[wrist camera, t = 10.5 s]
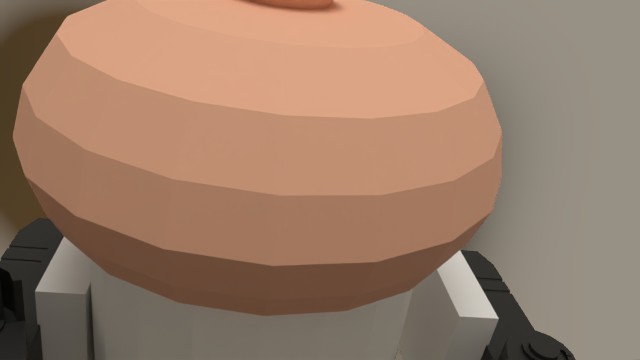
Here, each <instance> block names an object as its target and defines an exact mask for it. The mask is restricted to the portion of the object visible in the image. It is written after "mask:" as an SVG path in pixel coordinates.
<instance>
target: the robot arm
mask: <svg viewBox="0 0 640 360" xmlns="http://www.w3.org/2000/svg"><path fill="white" fill-rule="evenodd" d="M398 347H399V349H400V353H401V356H402V359H403V360H575V358H574V356H573V354H572V353H571V352H570V351H569V350H568V349H567V348H566V347H565V346H564V345H563V344H562V343H560V342H558V341H557V340H556V339H554V338H552V337H551V336H548V335H546V334H543V333H541V332H538V331H535V330H534V328H533V327H532V325H531V324H530V322H529V320H528V319H527V317H526V316H525V314H524V313H523V311H522V310H521V308H520V306H519V305H518V303H517V302H516V300H515V298H514V297H513V295H512V294H510V290H509V289H508V287H507V286H506V284H505V283H504V282H502V278H501V276H500V275H499V273H498V271H497V270H496V268H495V267H494V265H493V264H492V263H491V262H489V261H488V260H487V259H486V258H485V257H483V256H482V255H481V254H480V253H478V252H477V251H476V252H475V251H464V250H459V251H458V252H457V253H456V254H455V255H453V256H452V257H451V258H450V259H449V260H448V261H447V262H445V263H444V264H443V265H442V266H440V267H439V268H438V269H436V270H435V271H434V272H433V273H431V274H430V275H429V276H428V277H426V278H425V279H424V280H423V281H421V282H420V283H419V284H417V285H416V286H415V287H414V288H413V291H412V295H411V299H410V303H409V307H408V311H407V314H406V318H405V322H404V326H403V330H402V334H401V338H400V342H399V346H398ZM0 360H95V355H94V337H93V318H92V300H91V282H90V264H89V257H88V256H86V255H85V254H84V253H83V252H82V251H81V250H79V249H78V248H77V247H76V246H75V245H73V244H72V243H71V242H70V241H69V240H68V239H66V238H65V237H64V235H63V234H62V233H61V232H60V231H59V230H58V228H57V227H56V226H55V225H54V224H53V222H52V221H51V220H50V219H43V218H38V219H37V220H35V221H34V222H32V223H30V224H29V225H27V226H26V227H24V228H23V229H21V230H20V231H19V232H18V234H17V235H16V237H15V238H14V240H13V241H12V243H11V244H10V246H9V249H7V250H6V251H5V253H4V254H3V256H2V257H1V261H0Z"/></svg>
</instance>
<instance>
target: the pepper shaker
mask: <svg viewBox="0 0 640 360" xmlns="http://www.w3.org/2000/svg"><path fill="white" fill-rule="evenodd" d="M13 140H14V143H15V146H16V149H17V152H18V156H19V159H20V162H21V165H22V168H23V171H24V174H25V177H26V178H27V180H28V182H29V184H30V186H31V188H32V190H33V191H34V193H35V195H36V197H37V199H38V201H39V203H40V204H41V206H42V208H43V210H44V212H45V213H46V215H47V216H48V218H49V219H50V220H51V221H52V222H53V224H54V225H55V226H56V227H57V228H58V230H59V231H60V232H61V233H62V234H63V235H64V237H65V238H66V239H68V240H69V241H70V242H71V243H72V244H73V245H75V246H76V247H77V248H78V249H79V250H81V251H82V252H83V253H84V254H85V255H86V256H88V257H89V264H90V282H91V300H92V318H93V337H94V355H95V360H395V358H396V354H397V350H398V346H399V342H400V338H401V334H402V330H403V326H404V322H405V318H406V314H407V311H408V307H409V303H410V299H411V295H412V291H413V288H414V287H415V286H416V285H417V284H419V283H420V282H421V281H423V280H424V279H425V278H426V277H428V276H429V275H430V274H431V273H433V272H434V271H435V270H436V269H438V268H439V267H440V266H442V265H443V264H444V263H445V262H447V261H448V260H449V259H450V258H451V257H452V256H453V255H455V254H456V253H457V252H458V251H459V250H460V249H461V248H463V247H464V246H465V245H466V244H467V243H468V242H469V240H470V239H471V238H472V237H473V235H474V234H475V233H476V231H477V230H478V229H479V228H480V226H481V225H482V224H483V222H484V221H485V220H486V219H487V217H488V216H489V215H490V213H491V212H492V210H493V207H494V203H495V199H496V196H497V192H498V189H499V185H500V181H501V163H502V130H501V127H500V124H499V122H498V119H497V116H496V113H495V110H494V108H493V105H492V102H491V99H490V96H489V94H488V91H487V88H486V85H485V83H484V80H483V79H482V77H481V75H480V74H479V72H478V70H477V69H476V67H475V66H474V64H473V62H471V61H470V60H468V59H467V58H466V57H464V56H463V55H462V54H460V53H459V52H458V51H456V50H455V49H454V48H452V47H451V46H450V45H448V44H447V43H445V42H444V41H443V40H441V39H440V38H439V37H437V36H436V35H435V34H433V33H432V32H431V31H429V30H428V29H427V28H425V27H424V26H423V25H421V24H420V23H418V22H417V21H415V20H413V19H412V18H410V17H409V16H407V15H405V14H403V13H400V12H398V11H395V10H392V9H390V8H387V7H385V6H382V5H379V4H376V3H372V2H368V1H364V0H107V1H104V2H102V3H99V4H97V5H94V6H92V7H89V8H87V9H84V10H82V11H79V12H77V13H75V14H72V15H70V16H67V17H66V19H65V20H64V22H63V23H62V25H61V27H60V28H59V30H58V31H57V33H56V34H55V36H54V37H53V39H52V41H51V42H50V44H49V45H48V46H47V48H46V49H45V51H44V53H43V54H42V56H41V57H40V59H39V60H38V62H37V63H36V65H35V66H34V68H33V70H32V71H31V73H30V75H29V76H28V78H27V79H26V81H25V82H24V84H23V86H22V91H21V97H20V102H19V107H18V112H17V118H16V122H15V128H14V133H13Z"/></svg>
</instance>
